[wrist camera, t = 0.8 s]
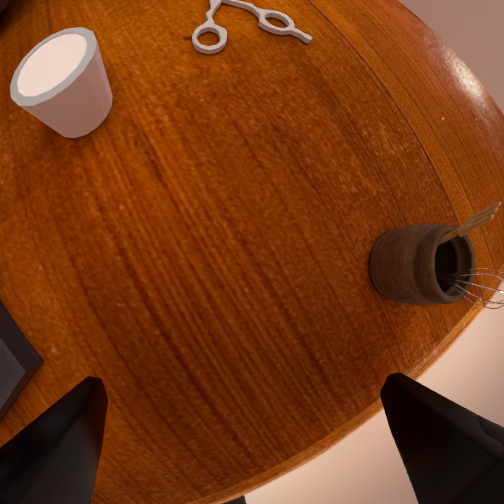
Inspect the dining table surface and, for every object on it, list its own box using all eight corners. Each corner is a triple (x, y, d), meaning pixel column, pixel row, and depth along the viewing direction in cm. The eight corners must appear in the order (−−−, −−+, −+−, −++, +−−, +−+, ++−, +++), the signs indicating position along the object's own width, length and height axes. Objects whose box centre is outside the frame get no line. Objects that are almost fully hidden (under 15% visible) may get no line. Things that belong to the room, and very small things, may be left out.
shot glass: (125, 124, 19) (99, 73, 12) (51, 158, 18) (5, 124, 11) (114, 65, 19) (94, 13, 12) (47, 96, 18) (13, 55, 11)
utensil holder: (389, 315, 22) (505, 342, 10) (351, 254, 21) (475, 243, 9) (429, 271, 23) (539, 271, 11) (397, 212, 22) (511, 180, 10)
